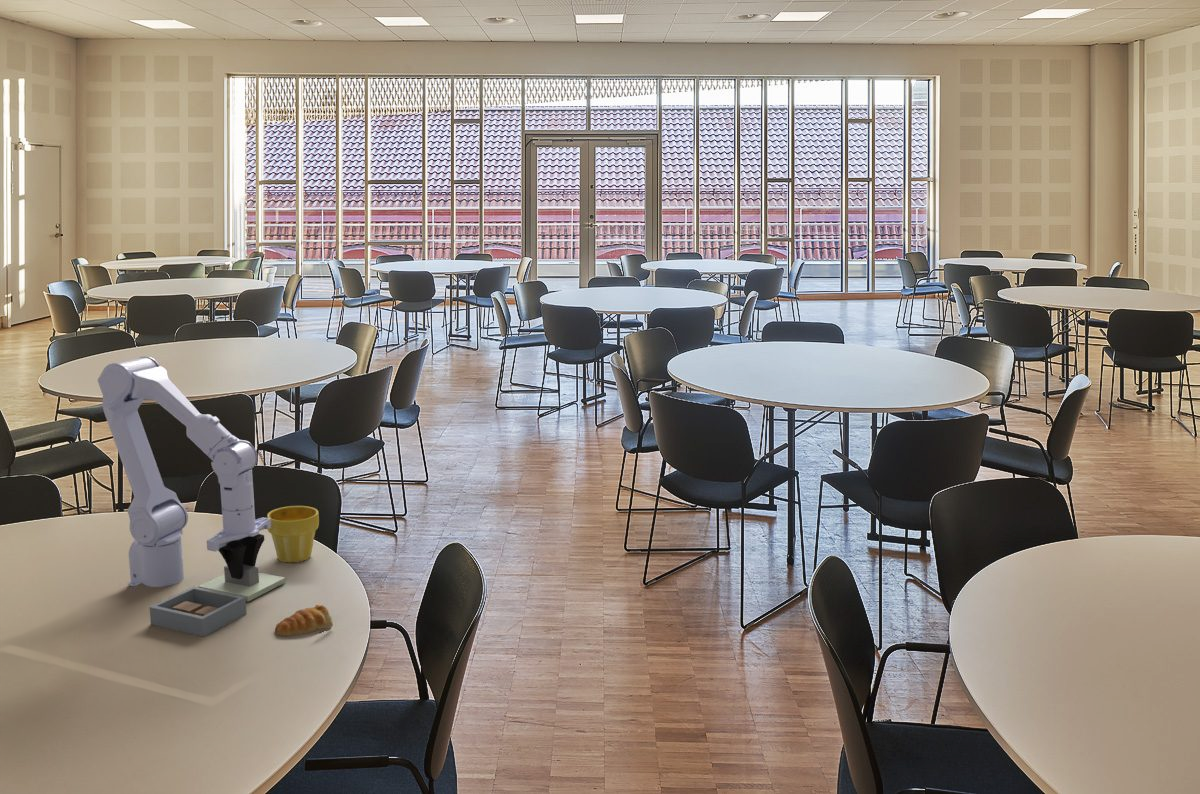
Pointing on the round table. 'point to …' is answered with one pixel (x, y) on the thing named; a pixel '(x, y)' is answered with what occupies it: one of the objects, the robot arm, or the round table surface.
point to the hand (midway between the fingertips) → (242, 575)
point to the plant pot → (293, 532)
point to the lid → (244, 583)
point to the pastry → (305, 622)
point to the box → (195, 624)
